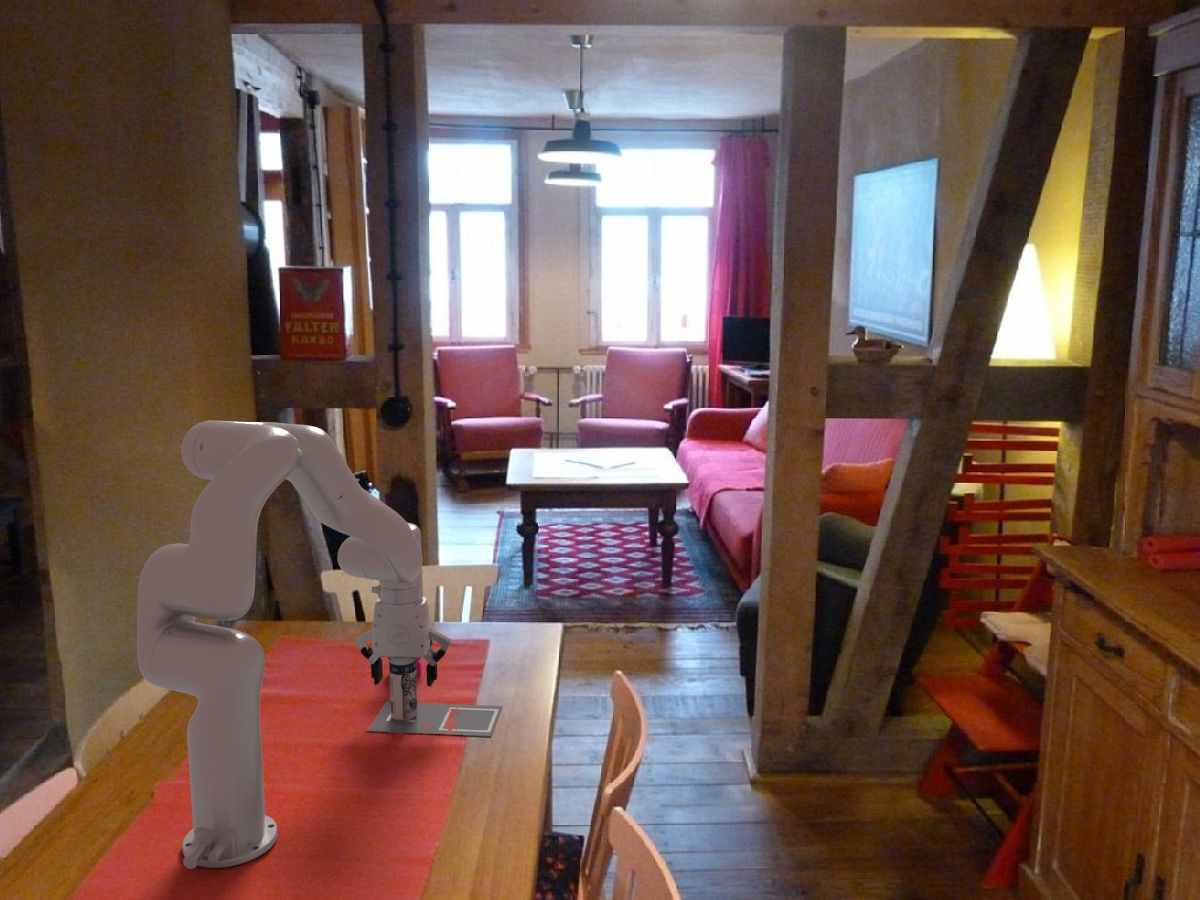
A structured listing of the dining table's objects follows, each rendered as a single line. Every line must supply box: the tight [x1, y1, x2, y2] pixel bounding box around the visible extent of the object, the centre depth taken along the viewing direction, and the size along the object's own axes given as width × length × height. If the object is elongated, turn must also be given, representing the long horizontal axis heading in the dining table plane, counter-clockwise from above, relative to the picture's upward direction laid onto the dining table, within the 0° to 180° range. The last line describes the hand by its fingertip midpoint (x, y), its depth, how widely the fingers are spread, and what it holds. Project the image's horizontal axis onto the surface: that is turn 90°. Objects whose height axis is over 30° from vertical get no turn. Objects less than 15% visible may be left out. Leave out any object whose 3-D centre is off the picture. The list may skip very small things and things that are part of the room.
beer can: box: [388, 657, 418, 721], centre depth 177 cm, size 5×5×12 cm
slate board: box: [366, 701, 503, 738], centre depth 178 cm, size 12×22×1 cm, turn 86°
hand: (404, 682), depth 177 cm, fingers open, 9 cm apart
